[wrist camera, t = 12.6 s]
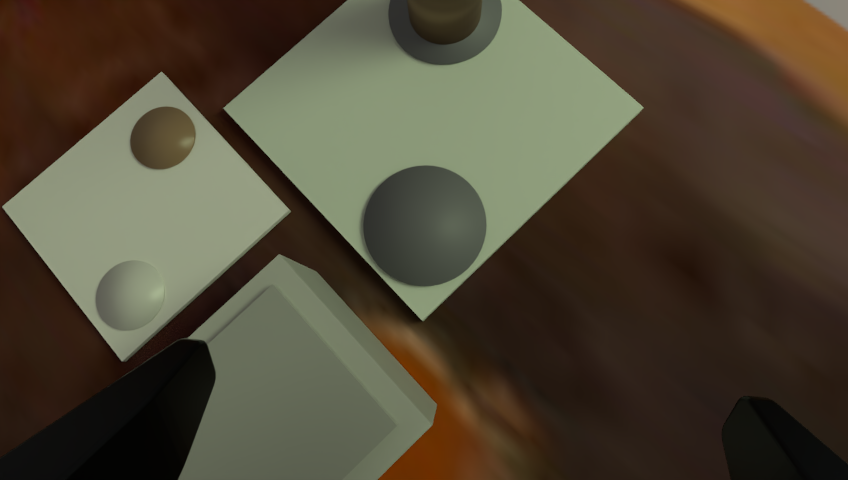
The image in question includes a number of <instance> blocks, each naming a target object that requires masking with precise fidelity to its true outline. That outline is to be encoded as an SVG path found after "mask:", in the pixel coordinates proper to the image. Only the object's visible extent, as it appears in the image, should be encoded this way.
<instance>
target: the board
mask: <svg viewBox="0 0 848 480" xmlns="http://www.w3.org/2000/svg"><path fill="white" fill-rule="evenodd" d="M643 108H644V107H642V106H641V105H640V104H639V103H638V102H637V101H635V100H634V99H633V98H632V97H631V96H630V95H629V94H627V93H626V92H625V91H624V90H623V89H622V88H620V87H619V86H618V85H617V84H616V83H615V82H613V81H612V80H611V79H610V78H609V77H608V76H606V75H605V74H604V73H603V72H602V71H601V70H599V69H598V68H597V67H596V66H595V65H594V64H592V63H591V62H590V61H589V60H588V59H587V58H585V57H584V56H583V55H582V54H581V53H580V52H578V51H577V50H576V49H575V48H574V47H573V46H571V45H570V44H569V43H568V42H567V41H566V40H564V39H563V38H562V37H561V36H560V35H559V34H558V33H556V32H555V31H554V30H553V29H552V28H551V27H549V26H548V25H547V24H546V23H545V22H544V21H542V20H541V19H540V18H539V17H538V16H537V15H535V14H534V13H533V12H532V11H531V10H530V9H528V8H527V7H526V6H525V5H524V4H523V3H521V2H520V1H519V0H482V9H481V17H480V21H479V23H478V25H477V27H476V29H475V30H474V31H473V32H472V34H470V35H469V36H468V37H467V38H465V39H464V40H462V41H459V42H457V43H453V44H447V45H441V44H435V43H431V42H429V41H426V40H425V39H423V38H422V37H420V36H419V35H418V34H417V33H416V32H415V30H414V29H413V27H412V25H411V23H410V19H409V13H408V5H407V0H347V1H346V2H345V3H344V4H343V5H341V6H340V7H339V8H338V9H337V10H336V11H335V12H333V13H332V14H331V15H330V16H329V17H328V18H326V19H325V20H324V21H323V22H322V23H321V24H320V25H318V26H317V27H316V28H315V29H314V30H313V31H312V32H310V33H309V34H308V35H307V36H306V37H305V38H303V39H302V40H301V41H300V42H299V43H298V44H297V45H295V46H294V47H293V48H292V49H291V50H290V51H288V52H287V53H286V54H285V55H284V56H283V57H282V58H280V59H279V60H278V61H277V62H276V63H275V64H274V65H272V66H271V67H270V68H269V69H268V70H267V71H265V72H264V73H263V74H262V75H261V76H260V77H259V78H257V79H256V80H255V81H254V82H253V83H252V84H250V85H249V86H248V87H247V88H246V89H245V90H244V91H242V92H241V93H240V94H239V95H238V96H237V97H236V98H234V99H233V100H232V101H231V102H230V103H229V104H227V105H226V106H225V107H224V108H223V109H224V110H225V111H226V112H227V113H228V114H229V115H230V116H231V117H232V118H233V119H234V120H235V121H236V122H237V124H238V125H239V126H240V127H241V128H242V129H243V130H244V131H245V132H246V133H247V134H248V135H249V136H250V137H251V138H252V140H253V141H254V142H255V143H256V144H257V145H258V146H259V147H260V148H261V149H262V150H263V151H264V152H265V153H266V155H267V156H268V157H269V158H270V159H271V160H272V161H273V162H274V163H275V164H276V165H277V166H278V167H279V168H280V169H281V171H282V172H283V173H284V174H285V175H286V176H287V177H288V178H289V179H290V180H291V181H292V182H293V183H294V184H295V185H296V187H297V188H298V189H299V190H300V191H301V192H302V193H303V194H304V195H305V196H306V197H307V198H308V199H309V200H310V202H311V203H312V204H313V205H314V206H315V207H316V208H317V209H318V210H319V211H320V212H321V213H322V214H323V215H324V216H325V218H326V219H327V220H328V221H329V222H330V223H331V224H332V225H333V226H334V227H335V228H336V229H337V230H338V231H339V233H340V234H341V235H342V236H343V237H344V238H345V239H346V240H347V241H348V242H349V243H350V244H351V245H352V246H353V247H354V249H355V250H356V251H357V252H358V253H359V254H360V255H361V256H362V257H363V258H364V259H365V260H366V261H367V262H368V263H369V265H370V266H371V267H372V268H373V269H374V270H375V271H376V272H377V273H378V274H379V275H380V276H381V277H382V278H383V280H384V281H385V282H386V283H387V284H388V285H389V286H390V287H391V288H392V289H393V290H394V291H395V292H396V293H397V294H398V296H399V297H400V298H401V299H402V300H403V301H404V302H405V303H406V304H407V305H408V306H409V307H410V308H411V309H412V311H413V312H414V313H415V314H416V315H417V316H418V317H419V318H420V319H421V320H422V321H424V320H425V319H426V318H427V317H428V316H429V315H430V314H431V313H432V312H433V311H434V310H435V309H436V308H437V307H438V306H439V305H440V304H441V303H442V302H444V301H445V300H446V299H447V298H448V297H449V296H450V295H451V294H452V293H453V292H454V291H455V290H456V289H457V288H458V287H459V286H460V285H461V284H462V283H463V282H464V281H465V280H466V279H467V278H468V277H469V276H470V275H472V274H473V273H474V272H475V271H476V270H477V269H478V268H479V267H480V266H481V265H482V264H483V263H484V262H485V261H486V260H487V259H488V258H489V257H490V256H491V255H492V254H493V253H494V252H495V251H496V250H497V249H498V248H500V247H501V246H502V245H503V244H504V243H505V242H506V241H507V240H508V239H509V238H510V237H511V236H512V235H513V234H514V233H515V232H516V231H517V230H518V229H519V228H520V227H521V226H522V225H523V224H524V223H525V222H526V221H528V220H529V219H530V218H531V217H532V216H533V215H534V214H535V213H536V212H537V211H538V210H539V209H540V208H541V207H542V206H543V205H544V204H545V203H546V202H547V201H548V200H549V199H550V198H551V197H552V196H553V195H555V194H556V193H557V192H558V191H559V190H560V189H561V188H562V187H563V186H564V185H565V184H566V183H567V182H568V181H569V180H570V179H571V178H572V177H573V176H574V175H575V174H576V173H577V172H578V171H579V170H580V169H581V168H583V167H584V166H585V165H586V164H587V163H588V162H589V161H590V160H591V159H592V158H593V157H594V156H595V155H596V154H597V153H598V152H599V151H600V150H601V149H602V148H603V147H604V146H605V145H606V144H607V143H608V142H609V141H611V140H612V139H613V138H614V137H615V136H616V135H617V134H618V133H619V132H620V131H621V130H622V129H623V128H624V127H625V126H626V125H627V124H628V123H629V122H630V121H631V120H632V119H633V118H634V117H635V116H636V115H637V114H639V112H640V111H641V110H642V109H643Z"/></svg>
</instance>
